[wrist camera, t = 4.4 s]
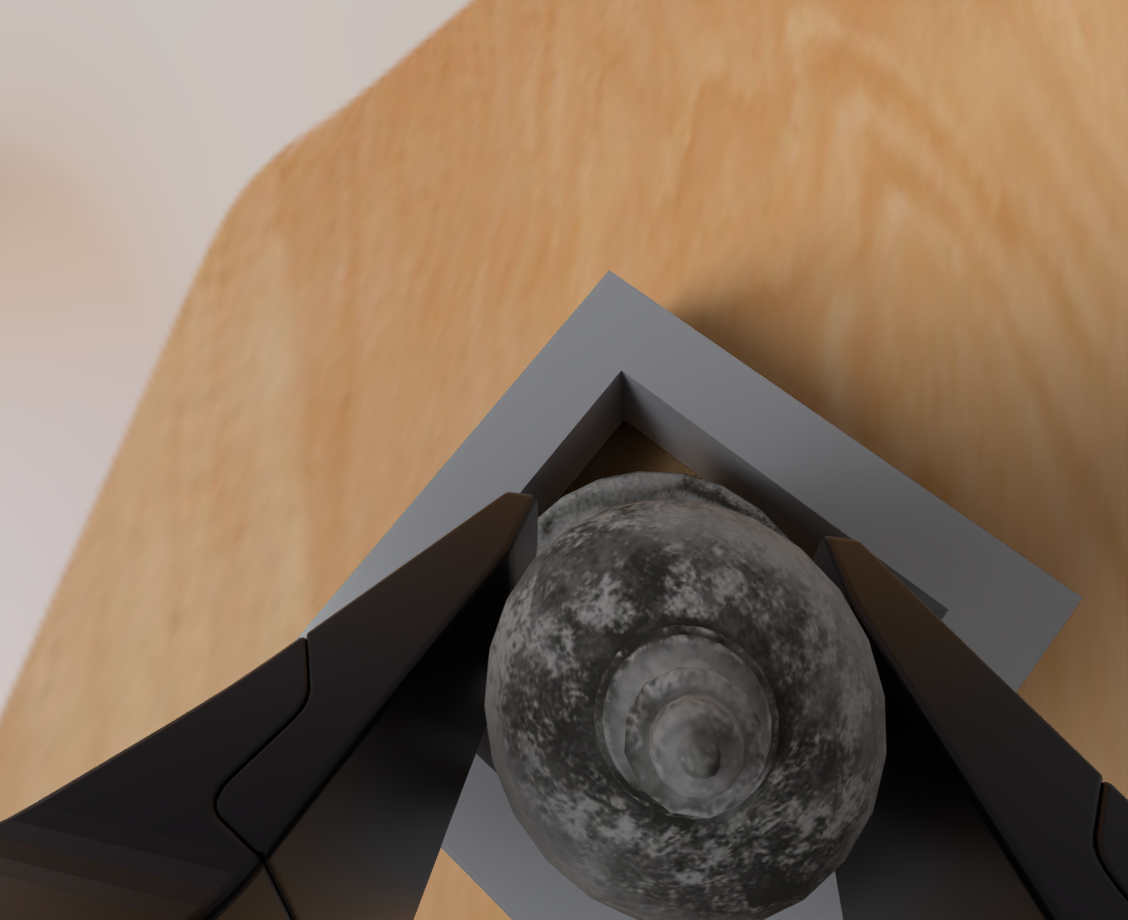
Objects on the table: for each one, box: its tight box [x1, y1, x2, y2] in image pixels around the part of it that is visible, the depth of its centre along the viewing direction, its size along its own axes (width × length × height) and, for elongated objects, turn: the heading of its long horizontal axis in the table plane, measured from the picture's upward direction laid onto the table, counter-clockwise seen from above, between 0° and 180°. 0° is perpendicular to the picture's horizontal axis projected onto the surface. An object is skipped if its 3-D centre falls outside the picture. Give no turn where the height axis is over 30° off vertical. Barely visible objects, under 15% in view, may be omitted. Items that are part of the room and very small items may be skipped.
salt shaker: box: [484, 471, 886, 920], centre depth 9 cm, size 6×6×12 cm
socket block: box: [295, 270, 1082, 920], centre depth 13 cm, size 10×10×4 cm
